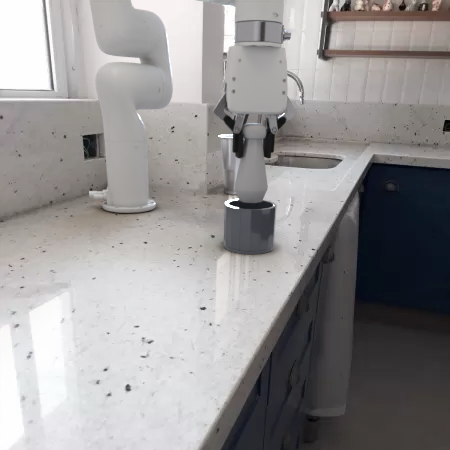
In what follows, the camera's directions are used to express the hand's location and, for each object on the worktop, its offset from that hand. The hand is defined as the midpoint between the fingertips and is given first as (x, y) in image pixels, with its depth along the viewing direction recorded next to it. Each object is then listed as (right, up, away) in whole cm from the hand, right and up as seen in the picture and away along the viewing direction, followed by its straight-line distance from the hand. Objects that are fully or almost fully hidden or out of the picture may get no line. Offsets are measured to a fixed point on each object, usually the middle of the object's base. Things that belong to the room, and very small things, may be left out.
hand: (252, 156), depth 83 cm
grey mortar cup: (0, -15, +6) cm, 16 cm away
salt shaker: (0, -7, +3) cm, 8 cm away
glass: (-1, +5, +54) cm, 54 cm away
